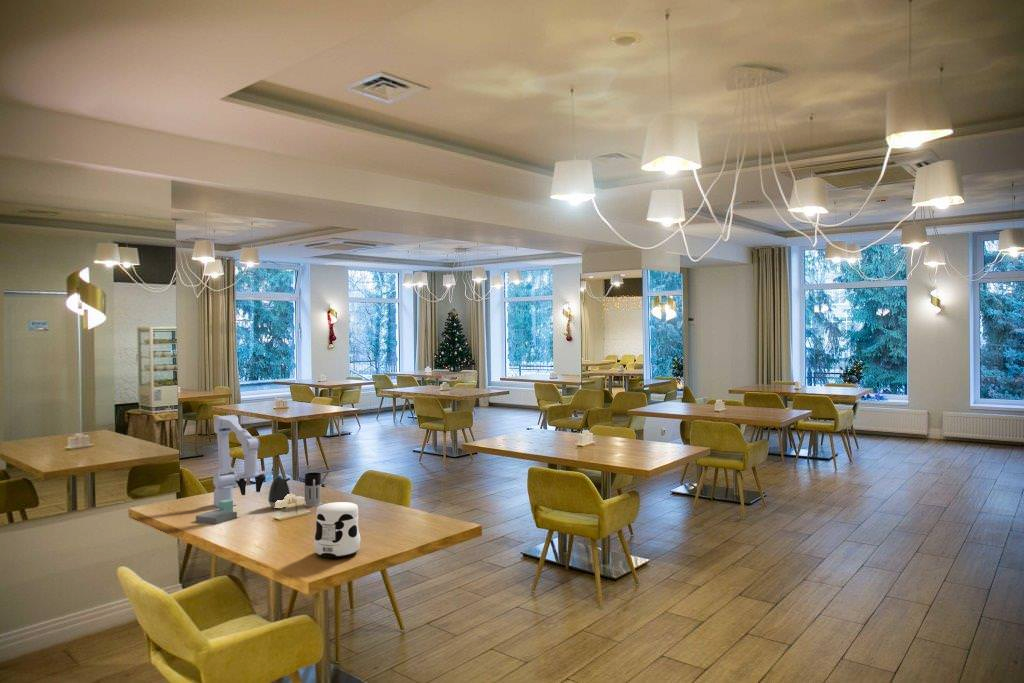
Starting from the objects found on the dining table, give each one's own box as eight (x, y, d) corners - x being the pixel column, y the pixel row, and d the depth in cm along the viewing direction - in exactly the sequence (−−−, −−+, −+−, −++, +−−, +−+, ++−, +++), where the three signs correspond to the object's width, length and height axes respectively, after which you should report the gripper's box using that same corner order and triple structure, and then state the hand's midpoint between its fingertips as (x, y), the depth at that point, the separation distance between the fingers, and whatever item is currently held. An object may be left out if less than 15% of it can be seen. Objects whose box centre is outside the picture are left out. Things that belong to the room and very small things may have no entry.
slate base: (195, 521, 306) (195, 515, 306) (216, 514, 317) (216, 509, 317) (216, 524, 301) (216, 518, 301) (236, 517, 312) (236, 511, 312)
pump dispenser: (286, 510, 325) (286, 478, 325) (265, 510, 326) (264, 478, 325) (294, 504, 336) (293, 473, 335) (272, 504, 336) (272, 473, 336)
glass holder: (321, 501, 342) (321, 471, 342) (323, 508, 329) (323, 477, 329) (303, 502, 339) (303, 472, 339) (304, 509, 326) (304, 478, 326)
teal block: (218, 513, 319) (218, 501, 319) (227, 511, 322) (227, 499, 322) (223, 515, 316) (223, 502, 316) (232, 513, 320) (232, 500, 319)
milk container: (353, 544, 273) (353, 499, 273) (366, 557, 258) (366, 509, 258) (309, 550, 265) (309, 504, 265) (319, 564, 250) (319, 515, 249)
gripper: (241, 467, 309) (241, 497, 309) (269, 462, 321) (269, 491, 321) (232, 465, 313) (232, 495, 314) (260, 461, 325) (260, 489, 325)
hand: (250, 493), depth 318 cm, fingers open, 7 cm apart
